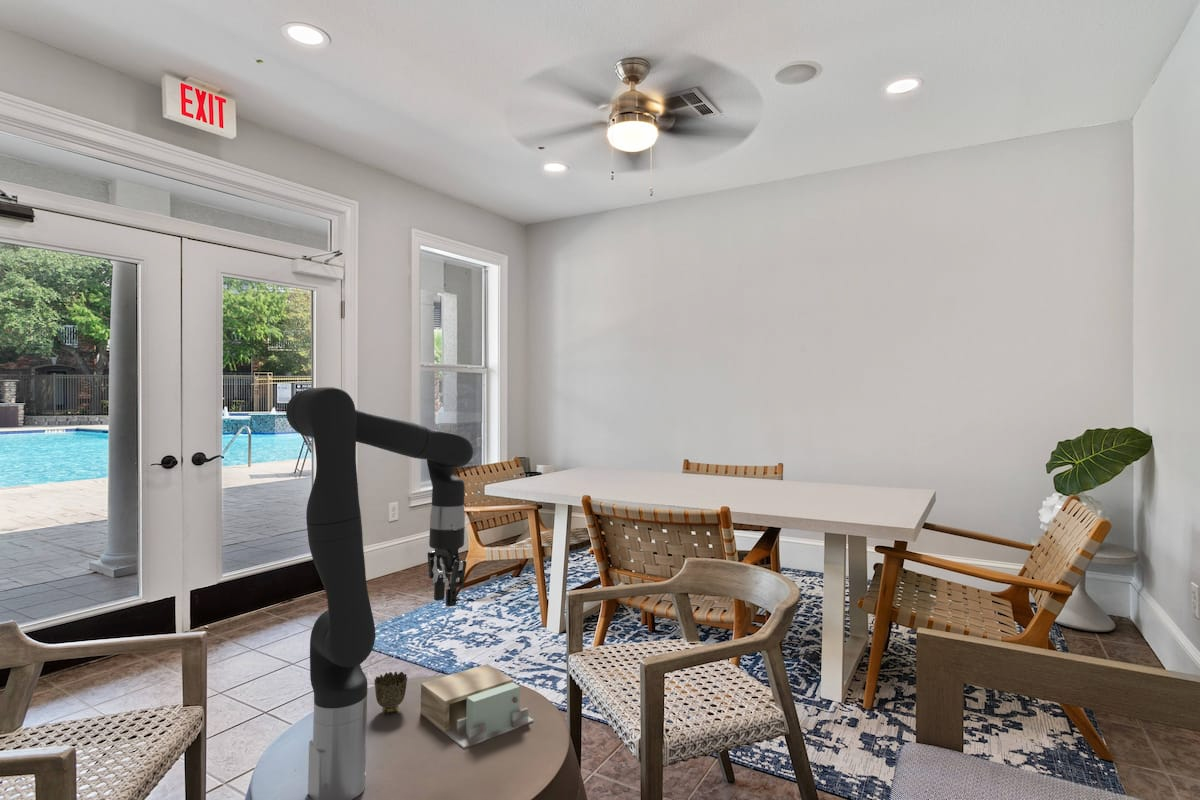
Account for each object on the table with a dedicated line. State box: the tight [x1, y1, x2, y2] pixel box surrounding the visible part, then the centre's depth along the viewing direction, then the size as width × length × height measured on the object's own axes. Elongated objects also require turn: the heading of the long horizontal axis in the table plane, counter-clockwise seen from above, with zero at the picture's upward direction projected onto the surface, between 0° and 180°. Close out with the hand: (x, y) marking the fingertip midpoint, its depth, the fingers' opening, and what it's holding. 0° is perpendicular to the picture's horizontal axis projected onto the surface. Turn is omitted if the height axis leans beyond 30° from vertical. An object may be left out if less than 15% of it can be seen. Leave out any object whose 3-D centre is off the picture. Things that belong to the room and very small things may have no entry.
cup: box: [374, 671, 408, 715], centre depth 146 cm, size 8×7×8 cm
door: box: [466, 682, 521, 735], centre depth 138 cm, size 12×4×8 cm, turn 131°
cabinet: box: [420, 663, 534, 750], centre depth 144 cm, size 18×20×7 cm
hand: (445, 602), depth 136 cm, fingers open, 5 cm apart
